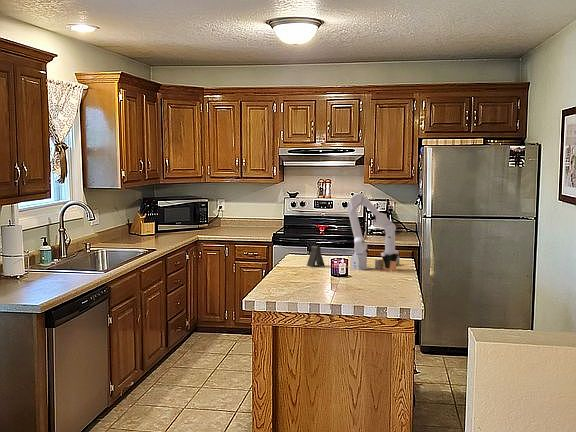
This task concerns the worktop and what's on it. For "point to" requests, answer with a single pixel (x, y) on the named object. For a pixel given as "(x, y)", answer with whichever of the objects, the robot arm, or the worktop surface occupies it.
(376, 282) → the worktop surface
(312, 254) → the phone stand
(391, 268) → the terracotta rectangular block
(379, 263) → the gate door
